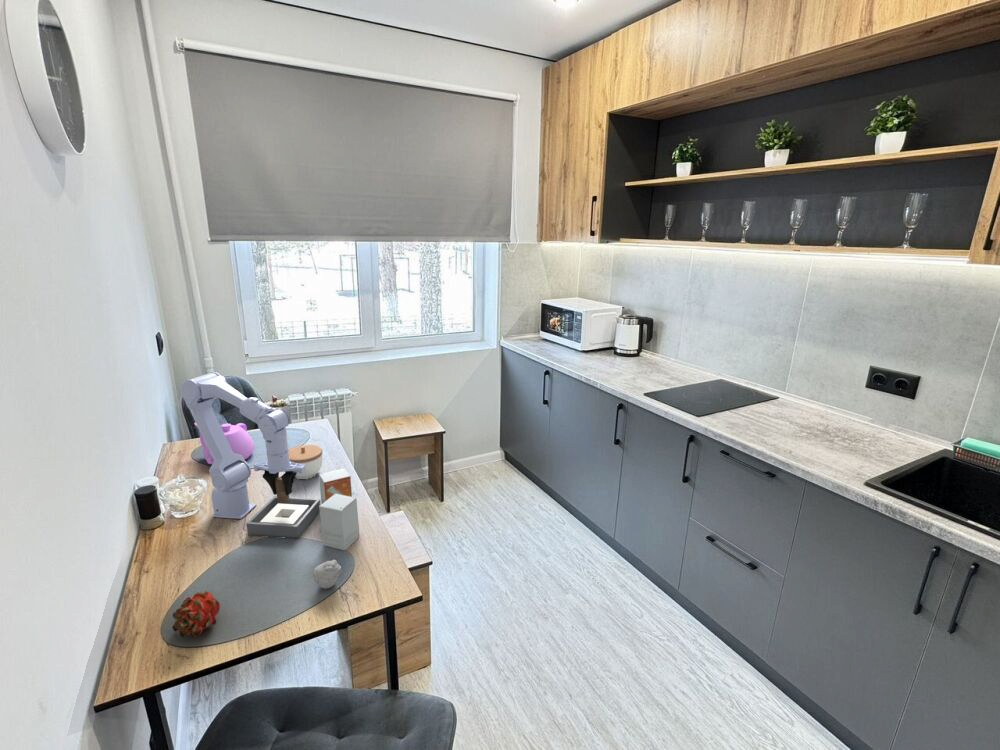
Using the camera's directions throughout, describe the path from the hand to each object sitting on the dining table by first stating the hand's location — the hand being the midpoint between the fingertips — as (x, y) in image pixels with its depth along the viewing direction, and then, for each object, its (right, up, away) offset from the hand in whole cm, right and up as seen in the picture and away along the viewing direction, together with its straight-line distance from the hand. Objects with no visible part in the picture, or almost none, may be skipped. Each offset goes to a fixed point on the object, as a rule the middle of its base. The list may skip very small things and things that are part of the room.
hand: (282, 493), depth 141 cm
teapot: (-42, +3, +43) cm, 60 cm away
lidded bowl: (-6, -1, +31) cm, 32 cm away
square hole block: (0, -9, +3) cm, 10 cm away
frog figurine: (+22, -18, -23) cm, 36 cm away
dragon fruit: (-2, -21, -36) cm, 41 cm away
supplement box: (+19, -12, -5) cm, 23 cm away
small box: (+13, -8, +9) cm, 18 cm away
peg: (0, -2, +1) cm, 2 cm away
